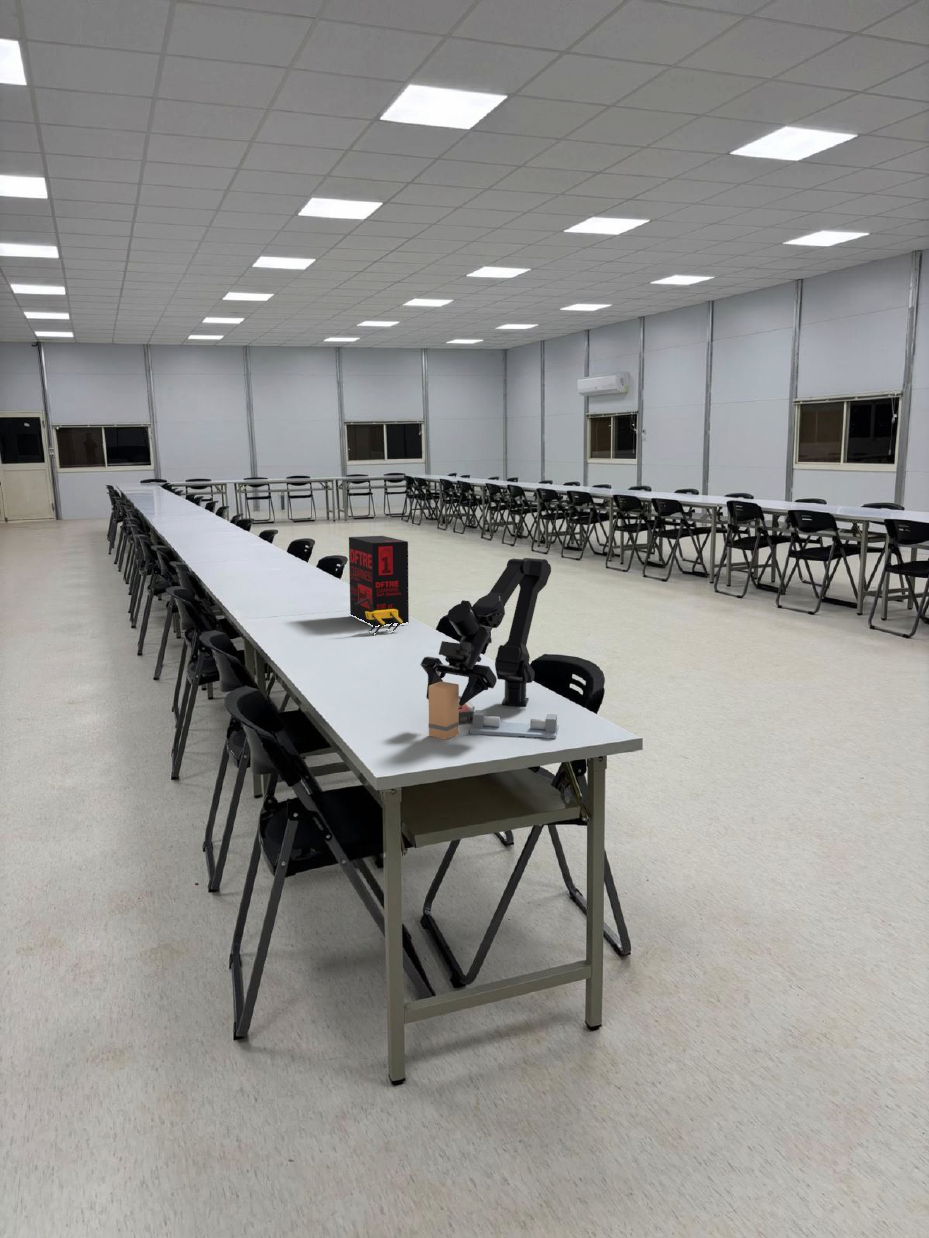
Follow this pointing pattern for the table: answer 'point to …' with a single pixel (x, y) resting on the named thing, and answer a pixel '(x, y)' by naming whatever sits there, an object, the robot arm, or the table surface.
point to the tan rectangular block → (443, 710)
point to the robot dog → (380, 615)
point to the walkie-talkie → (466, 712)
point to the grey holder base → (514, 726)
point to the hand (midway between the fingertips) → (443, 701)
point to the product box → (378, 576)
